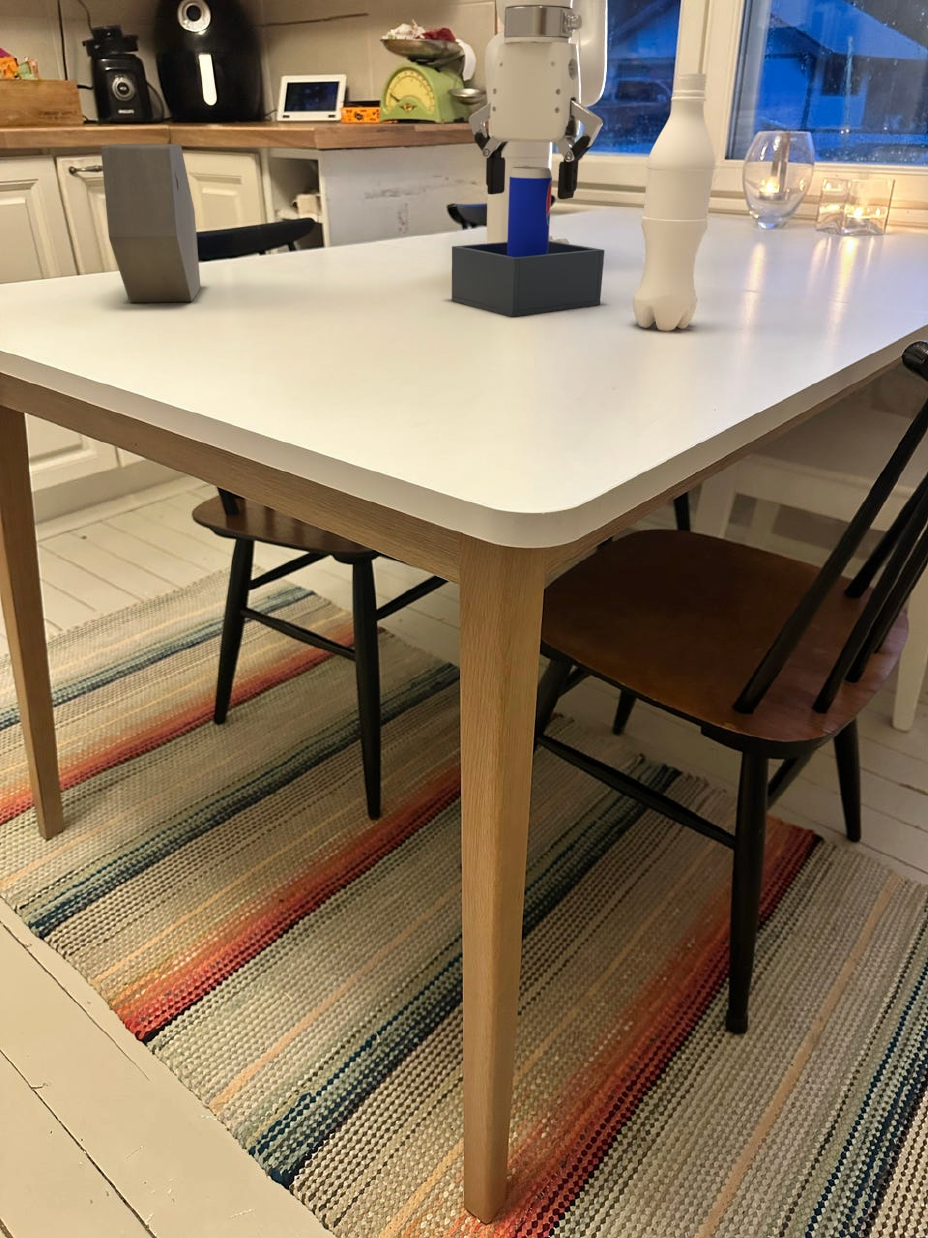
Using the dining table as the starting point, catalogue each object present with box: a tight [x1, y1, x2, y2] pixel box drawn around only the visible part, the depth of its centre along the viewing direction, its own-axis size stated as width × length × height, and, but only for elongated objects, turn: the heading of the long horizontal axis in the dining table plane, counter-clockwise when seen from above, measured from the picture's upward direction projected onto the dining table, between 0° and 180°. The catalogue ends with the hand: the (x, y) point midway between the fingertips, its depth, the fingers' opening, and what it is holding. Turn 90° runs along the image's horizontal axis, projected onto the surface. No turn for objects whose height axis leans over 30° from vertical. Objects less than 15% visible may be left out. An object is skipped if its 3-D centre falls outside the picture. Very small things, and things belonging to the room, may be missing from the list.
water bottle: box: [632, 73, 716, 332], centre depth 97 cm, size 7×7×25 cm
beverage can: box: [507, 167, 553, 257], centre depth 111 cm, size 5×5×15 cm
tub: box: [451, 241, 605, 318], centre depth 113 cm, size 15×13×7 cm
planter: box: [100, 143, 201, 304], centre depth 111 cm, size 17×8×21 cm
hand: (530, 195), depth 109 cm, fingers open, 9 cm apart
